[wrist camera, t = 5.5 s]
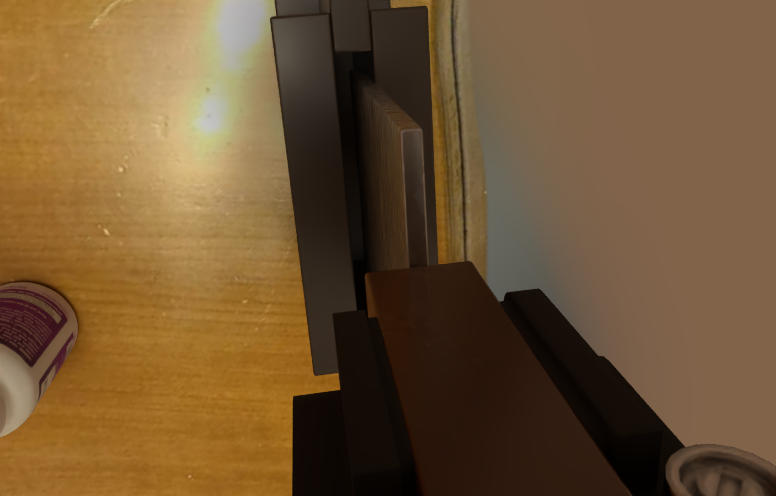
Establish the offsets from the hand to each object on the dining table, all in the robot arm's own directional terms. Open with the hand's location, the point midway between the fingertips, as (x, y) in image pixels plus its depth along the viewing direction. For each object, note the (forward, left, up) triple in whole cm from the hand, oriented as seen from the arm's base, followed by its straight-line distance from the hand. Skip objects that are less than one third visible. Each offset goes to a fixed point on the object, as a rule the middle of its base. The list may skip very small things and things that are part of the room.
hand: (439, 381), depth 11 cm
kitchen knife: (0, 0, -13) cm, 13 cm away
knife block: (0, 0, -25) cm, 25 cm away
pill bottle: (+3, -20, -26) cm, 33 cm away
